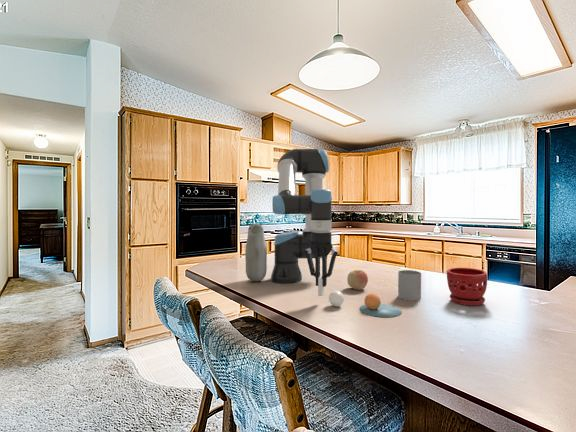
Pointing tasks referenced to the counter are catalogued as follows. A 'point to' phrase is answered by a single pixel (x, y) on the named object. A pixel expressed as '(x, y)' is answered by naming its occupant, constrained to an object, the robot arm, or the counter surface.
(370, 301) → the orange ball
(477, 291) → the plant pot
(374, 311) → the teal mark
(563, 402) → the counter surface
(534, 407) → the counter surface
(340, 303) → the cue ball
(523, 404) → the counter surface
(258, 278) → the grey bottle
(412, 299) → the cup
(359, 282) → the apple
